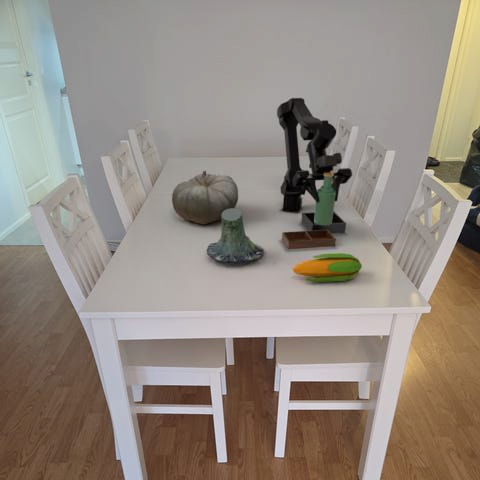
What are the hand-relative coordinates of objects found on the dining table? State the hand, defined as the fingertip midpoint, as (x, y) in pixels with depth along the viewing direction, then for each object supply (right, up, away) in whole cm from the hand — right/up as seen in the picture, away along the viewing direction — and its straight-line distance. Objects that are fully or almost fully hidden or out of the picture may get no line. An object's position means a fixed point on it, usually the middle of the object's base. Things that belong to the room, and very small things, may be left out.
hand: (327, 201), depth 145 cm
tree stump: (-30, -18, -2) cm, 35 cm away
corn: (-3, -27, -15) cm, 31 cm away
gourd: (-41, 0, +25) cm, 48 cm away
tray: (+2, -5, +17) cm, 18 cm away
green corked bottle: (0, -5, +5) cm, 8 cm away
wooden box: (-5, -13, +5) cm, 15 cm away
